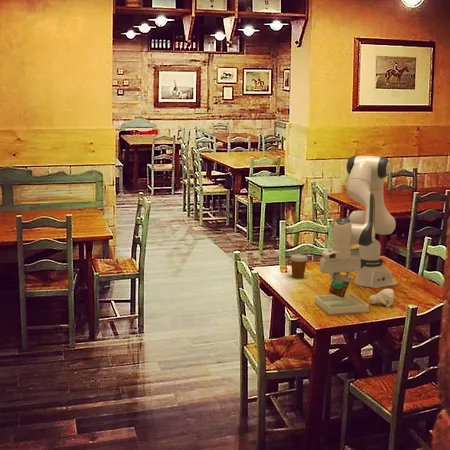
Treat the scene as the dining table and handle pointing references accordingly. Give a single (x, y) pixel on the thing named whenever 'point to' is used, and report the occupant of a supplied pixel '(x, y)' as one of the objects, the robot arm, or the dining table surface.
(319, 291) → the dining table surface
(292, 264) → the disposable coffee cup
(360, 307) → the walled box
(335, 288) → the food container
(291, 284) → the dining table surface
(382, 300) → the white animal figurine
